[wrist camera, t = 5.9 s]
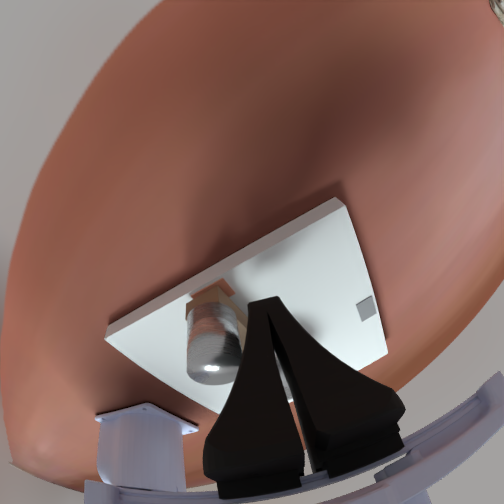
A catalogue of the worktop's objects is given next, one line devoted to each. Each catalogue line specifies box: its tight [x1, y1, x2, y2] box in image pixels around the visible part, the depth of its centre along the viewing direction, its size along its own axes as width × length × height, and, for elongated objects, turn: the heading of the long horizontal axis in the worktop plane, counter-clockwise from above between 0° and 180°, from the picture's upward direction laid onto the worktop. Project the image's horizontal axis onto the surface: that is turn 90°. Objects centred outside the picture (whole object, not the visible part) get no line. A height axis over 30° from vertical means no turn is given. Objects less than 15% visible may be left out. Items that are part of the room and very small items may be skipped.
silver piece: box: [185, 285, 293, 400], centre depth 14 cm, size 11×5×4 cm, turn 31°
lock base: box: [104, 197, 388, 414], centre depth 18 cm, size 16×16×1 cm
